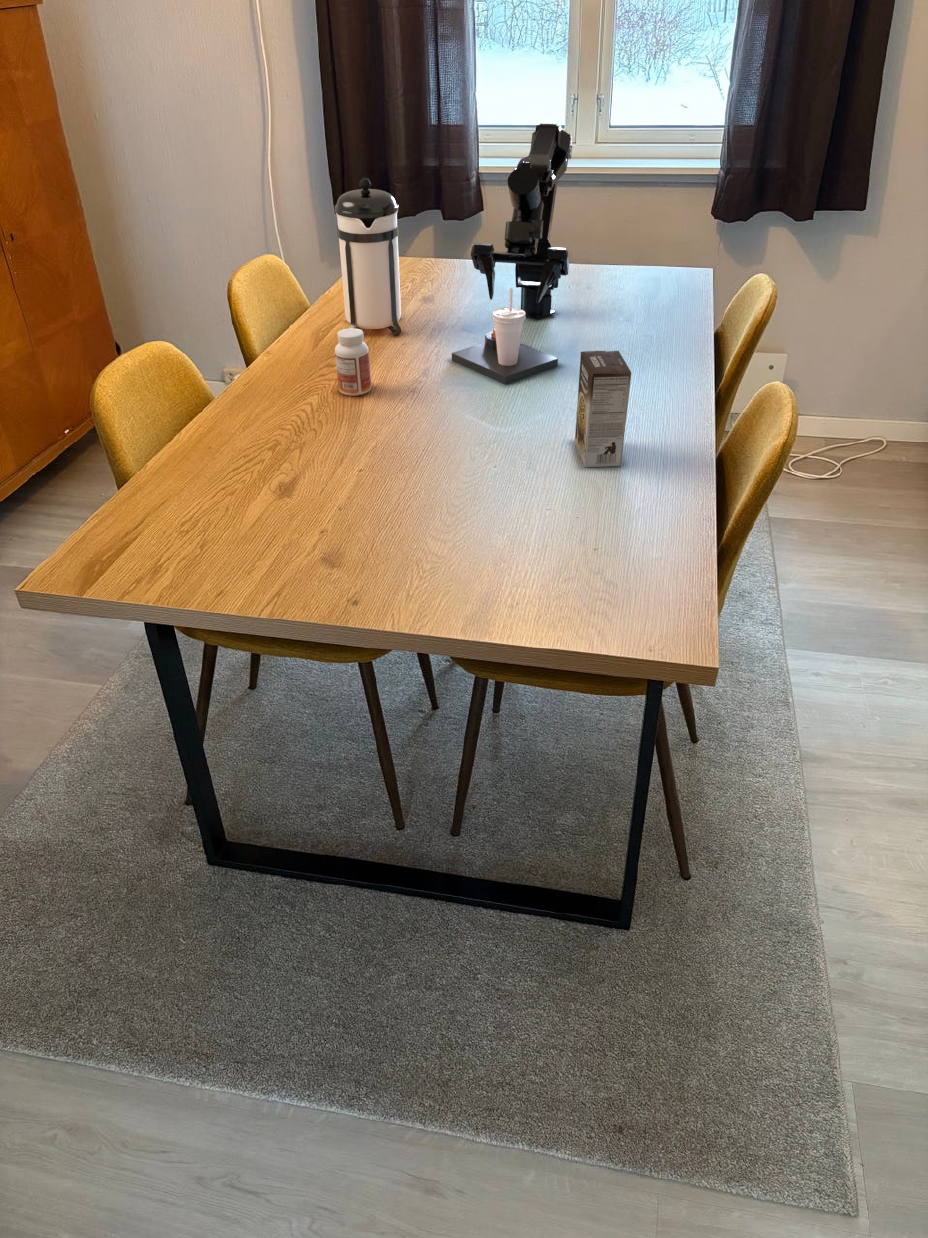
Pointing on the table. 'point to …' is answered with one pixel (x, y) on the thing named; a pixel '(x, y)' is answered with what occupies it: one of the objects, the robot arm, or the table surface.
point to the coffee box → (602, 408)
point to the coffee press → (369, 258)
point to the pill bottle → (352, 363)
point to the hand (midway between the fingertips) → (514, 300)
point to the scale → (487, 364)
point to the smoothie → (508, 332)
